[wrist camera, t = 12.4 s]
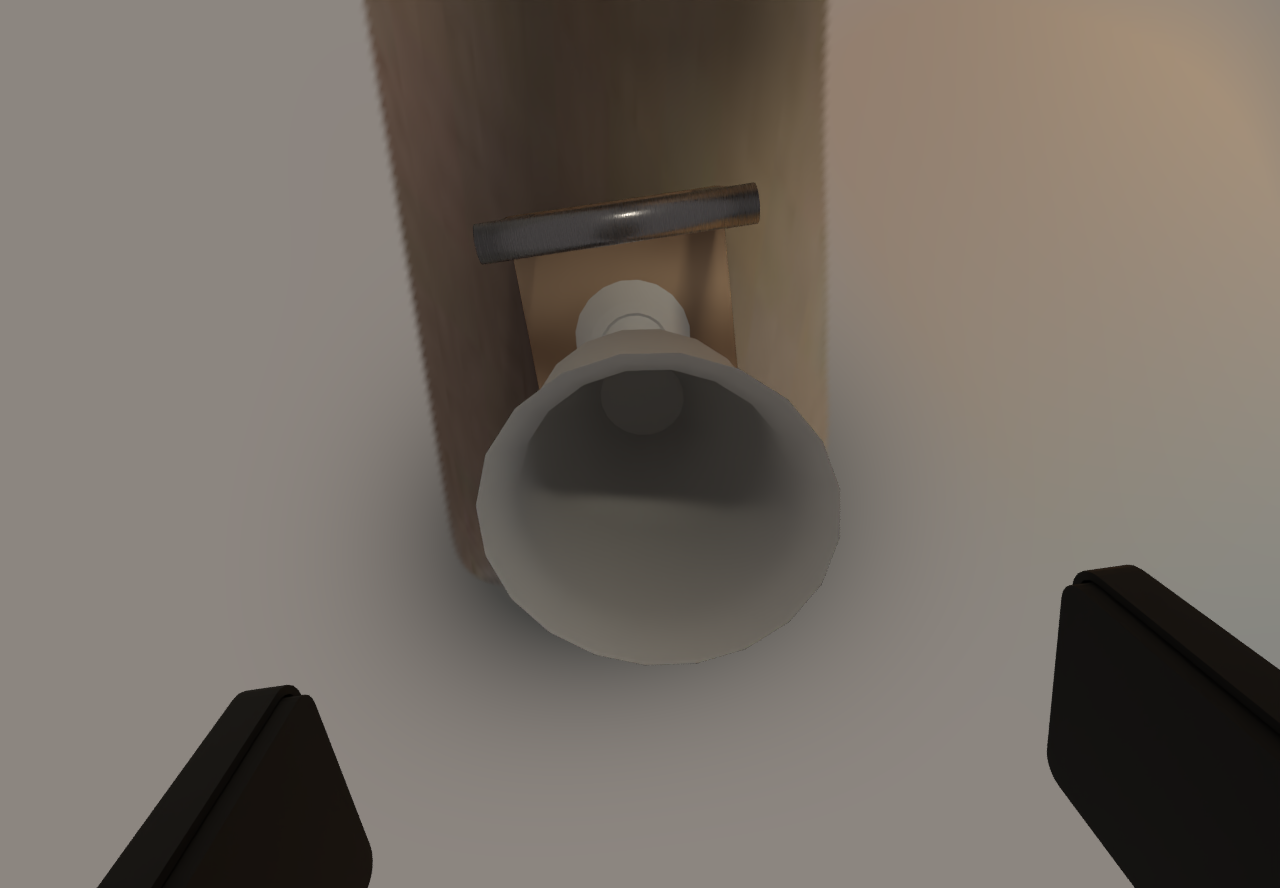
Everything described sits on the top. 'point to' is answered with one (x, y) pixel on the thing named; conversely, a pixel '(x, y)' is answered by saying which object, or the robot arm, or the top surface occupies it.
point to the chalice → (656, 493)
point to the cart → (622, 261)
